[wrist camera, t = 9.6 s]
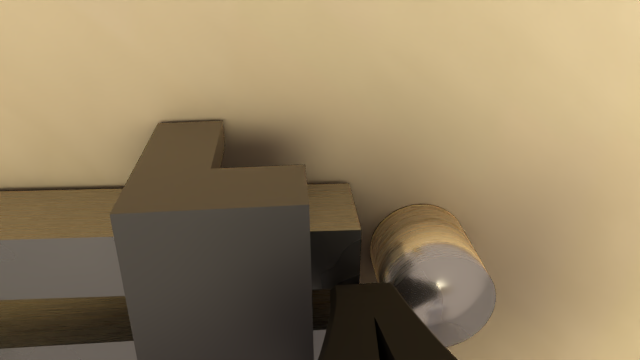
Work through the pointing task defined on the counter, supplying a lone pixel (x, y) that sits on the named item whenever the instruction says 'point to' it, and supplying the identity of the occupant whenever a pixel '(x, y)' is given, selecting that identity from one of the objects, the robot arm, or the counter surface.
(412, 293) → the tongs base
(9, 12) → the counter surface
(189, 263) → the grey stepped block
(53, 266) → the bar
